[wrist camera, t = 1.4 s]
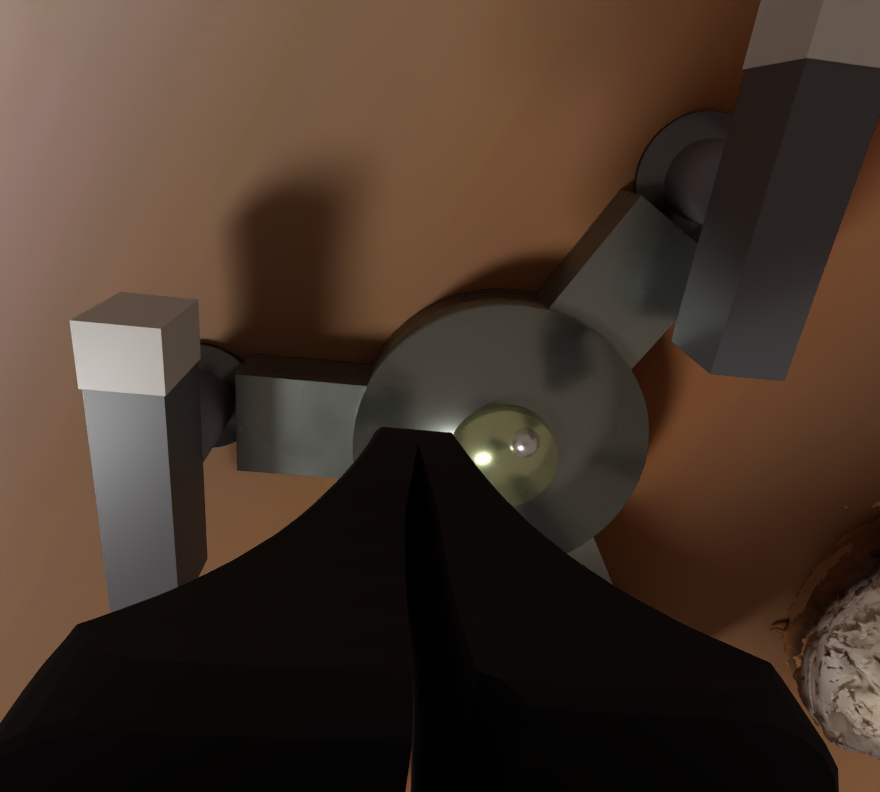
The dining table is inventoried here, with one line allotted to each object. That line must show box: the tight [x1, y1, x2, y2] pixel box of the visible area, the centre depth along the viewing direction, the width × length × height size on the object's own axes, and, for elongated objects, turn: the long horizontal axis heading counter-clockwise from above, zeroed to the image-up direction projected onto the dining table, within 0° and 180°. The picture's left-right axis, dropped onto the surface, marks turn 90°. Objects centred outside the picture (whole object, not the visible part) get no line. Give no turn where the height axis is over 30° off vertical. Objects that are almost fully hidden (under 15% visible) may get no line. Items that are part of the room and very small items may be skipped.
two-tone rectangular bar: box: [665, 0, 880, 381], centre depth 15 cm, size 8×2×5 cm, turn 174°
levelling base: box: [198, 111, 732, 585], centre depth 19 cm, size 20×18×3 cm
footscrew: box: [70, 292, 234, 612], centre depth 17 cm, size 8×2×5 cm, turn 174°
